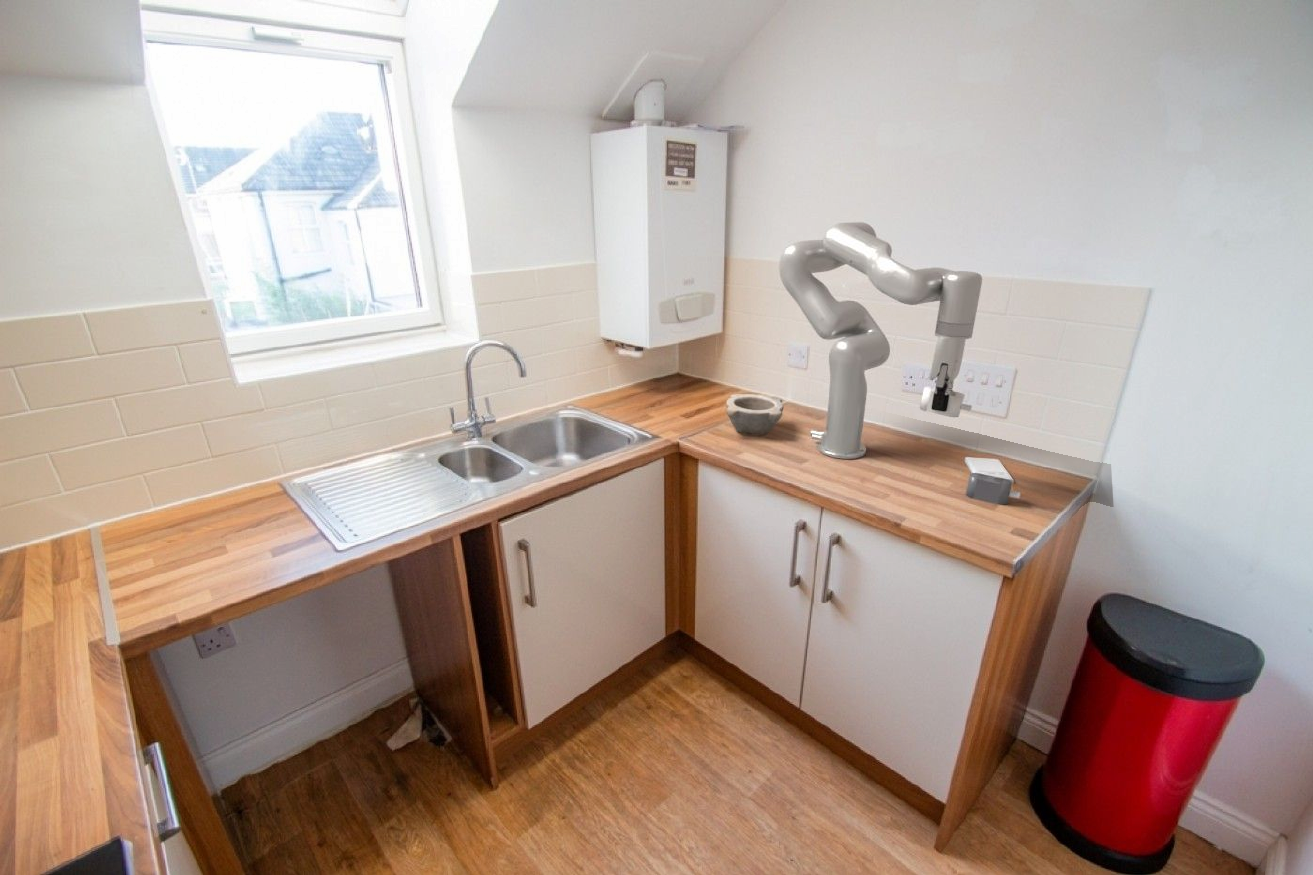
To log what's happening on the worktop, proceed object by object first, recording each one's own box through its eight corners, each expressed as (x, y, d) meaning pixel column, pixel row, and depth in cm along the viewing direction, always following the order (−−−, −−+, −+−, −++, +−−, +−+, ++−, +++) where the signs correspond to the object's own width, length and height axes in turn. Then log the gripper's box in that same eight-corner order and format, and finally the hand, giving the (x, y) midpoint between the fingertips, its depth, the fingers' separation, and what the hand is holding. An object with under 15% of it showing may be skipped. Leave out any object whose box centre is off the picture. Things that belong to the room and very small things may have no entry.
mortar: (780, 443, 171) (782, 412, 168) (721, 438, 175) (722, 408, 171) (782, 423, 186) (785, 395, 183) (728, 419, 190) (729, 391, 187)
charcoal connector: (964, 496, 139) (968, 477, 137) (967, 490, 142) (970, 471, 140) (1016, 508, 134) (1021, 488, 132) (1018, 502, 136) (1023, 482, 134)
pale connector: (918, 409, 141) (922, 389, 139) (921, 405, 144) (926, 385, 142) (966, 420, 136) (972, 400, 134) (969, 416, 138) (975, 395, 136)
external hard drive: (998, 465, 157) (1013, 485, 145) (964, 462, 158) (976, 482, 147) (999, 459, 156) (1014, 479, 145) (965, 456, 158) (977, 476, 146)
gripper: (943, 321, 141) (930, 396, 148) (928, 334, 129) (915, 415, 135) (978, 324, 137) (964, 401, 144) (966, 338, 125) (951, 421, 131)
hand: (940, 407), depth 140 cm, fingers closed on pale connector, 3 cm apart
